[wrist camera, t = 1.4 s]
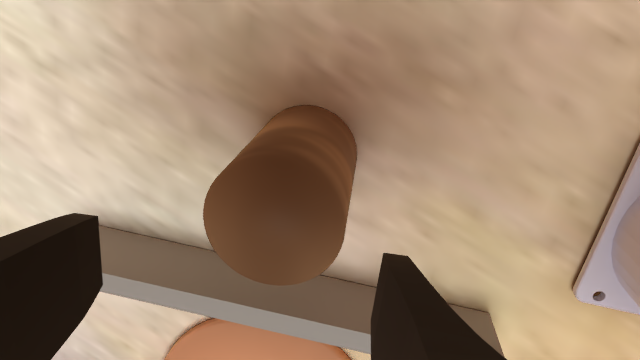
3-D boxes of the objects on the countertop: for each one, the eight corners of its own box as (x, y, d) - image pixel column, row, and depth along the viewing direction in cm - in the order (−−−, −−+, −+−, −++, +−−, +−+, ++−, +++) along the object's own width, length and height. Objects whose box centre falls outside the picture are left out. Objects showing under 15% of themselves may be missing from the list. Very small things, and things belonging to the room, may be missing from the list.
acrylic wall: (489, 313, 22) (507, 366, 19) (482, 329, 23) (499, 383, 19) (94, 224, 23) (47, 260, 20) (94, 241, 24) (48, 279, 20)
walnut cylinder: (366, 116, 20) (358, 172, 13) (346, 208, 21) (330, 298, 15) (266, 95, 20) (209, 141, 13) (253, 188, 22) (198, 268, 15)
